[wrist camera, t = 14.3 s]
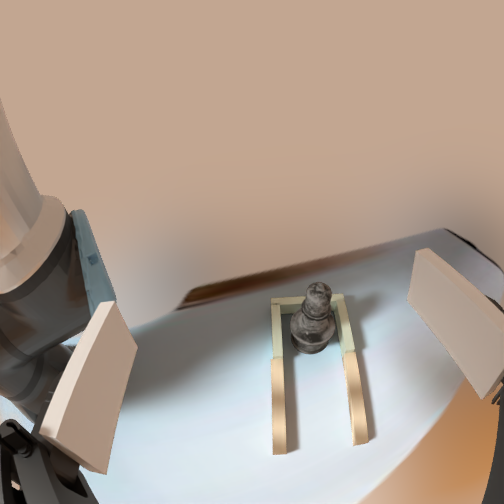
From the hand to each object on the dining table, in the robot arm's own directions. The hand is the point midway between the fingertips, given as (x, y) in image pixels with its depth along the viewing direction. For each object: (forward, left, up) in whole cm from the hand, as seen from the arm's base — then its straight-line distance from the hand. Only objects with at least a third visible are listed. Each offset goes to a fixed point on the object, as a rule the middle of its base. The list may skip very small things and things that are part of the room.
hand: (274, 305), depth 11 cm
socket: (0, +12, -25) cm, 28 cm away
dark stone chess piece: (0, +12, -25) cm, 28 cm away
